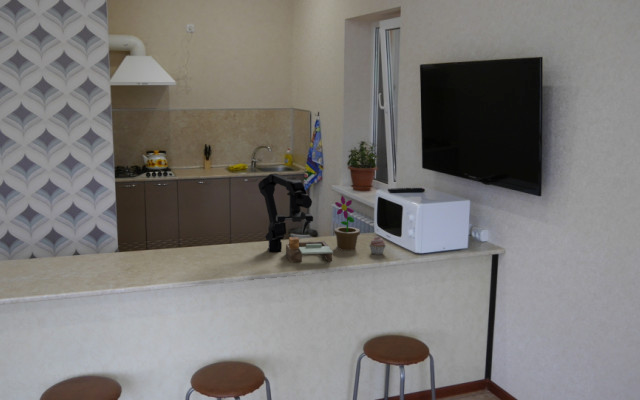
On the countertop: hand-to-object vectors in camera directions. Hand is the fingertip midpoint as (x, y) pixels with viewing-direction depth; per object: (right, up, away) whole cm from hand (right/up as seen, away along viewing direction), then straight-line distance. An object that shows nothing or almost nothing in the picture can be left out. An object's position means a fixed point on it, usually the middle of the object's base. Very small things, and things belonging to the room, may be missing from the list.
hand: (294, 234), depth 305 cm
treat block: (0, -7, +1) cm, 7 cm away
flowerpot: (+28, -9, +25) cm, 39 cm away
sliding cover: (+11, -8, -3) cm, 14 cm away
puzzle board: (+7, -12, +6) cm, 15 cm away
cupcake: (+45, -12, +16) cm, 49 cm away
